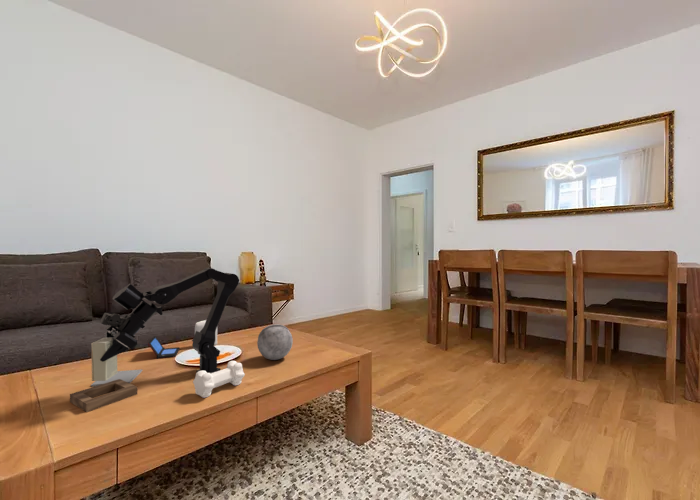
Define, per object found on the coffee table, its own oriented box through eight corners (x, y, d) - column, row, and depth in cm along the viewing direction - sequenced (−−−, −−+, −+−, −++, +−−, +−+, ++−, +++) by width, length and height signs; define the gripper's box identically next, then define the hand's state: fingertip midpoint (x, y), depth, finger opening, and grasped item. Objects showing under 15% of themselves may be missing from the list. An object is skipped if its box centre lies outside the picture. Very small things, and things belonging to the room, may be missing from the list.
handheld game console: (175, 357, 147) (175, 340, 147) (147, 360, 144) (147, 343, 143) (180, 349, 159) (180, 333, 159) (154, 351, 155) (154, 335, 155)
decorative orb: (290, 352, 154) (290, 319, 154) (295, 362, 140) (295, 326, 140) (256, 355, 149) (256, 321, 149) (258, 366, 136) (258, 329, 135)
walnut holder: (137, 394, 111) (137, 386, 111) (86, 412, 99) (86, 403, 99) (119, 386, 117) (119, 378, 117) (69, 402, 105) (69, 394, 105)
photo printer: (216, 342, 168) (216, 318, 168) (218, 345, 165) (218, 319, 165) (193, 346, 163) (193, 320, 162) (195, 348, 159) (195, 322, 159)
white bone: (205, 402, 107) (206, 377, 106) (191, 392, 112) (192, 369, 111) (245, 386, 119) (246, 364, 118) (230, 378, 124) (232, 356, 123)
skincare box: (104, 373, 111) (103, 337, 111) (118, 373, 111) (117, 336, 111) (91, 381, 105) (90, 342, 104) (106, 381, 105) (105, 342, 105)
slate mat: (142, 370, 131) (142, 369, 131) (129, 383, 119) (129, 381, 119) (107, 373, 128) (107, 371, 128) (90, 386, 117) (90, 384, 117)
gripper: (112, 299, 117) (72, 337, 109) (124, 307, 103) (79, 351, 96) (139, 318, 123) (102, 356, 115) (153, 327, 109) (113, 370, 102)
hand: (99, 358), depth 107 cm, fingers closed on skincare box, 7 cm apart
